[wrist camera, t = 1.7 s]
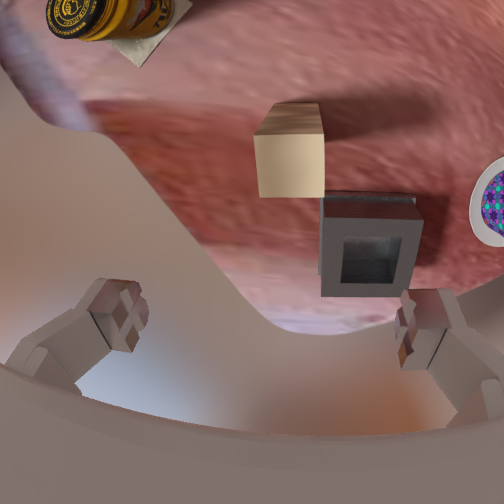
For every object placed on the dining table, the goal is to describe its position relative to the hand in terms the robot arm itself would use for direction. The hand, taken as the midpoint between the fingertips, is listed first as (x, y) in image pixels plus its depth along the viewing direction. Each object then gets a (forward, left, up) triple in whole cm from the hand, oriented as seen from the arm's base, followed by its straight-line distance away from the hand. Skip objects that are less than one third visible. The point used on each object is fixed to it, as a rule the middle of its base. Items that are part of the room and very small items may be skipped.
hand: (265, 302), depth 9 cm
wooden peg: (0, 0, -23) cm, 23 cm away
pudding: (-25, +7, -24) cm, 35 cm away
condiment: (+14, -13, -23) cm, 30 cm away
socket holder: (-7, +12, -23) cm, 27 cm away
